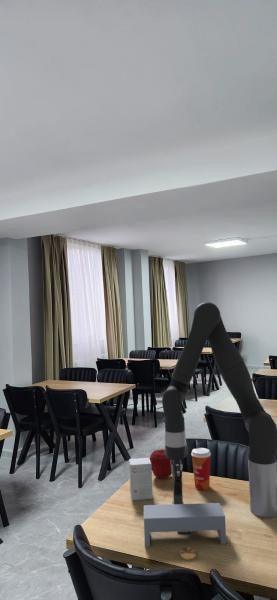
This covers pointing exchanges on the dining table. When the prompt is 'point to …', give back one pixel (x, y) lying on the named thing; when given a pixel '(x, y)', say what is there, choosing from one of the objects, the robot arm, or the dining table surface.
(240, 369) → the robot arm
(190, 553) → the token
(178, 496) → the grey l-shaped bracket
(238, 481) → the dining table surface
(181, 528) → the shelf
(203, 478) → the paper cup
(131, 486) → the small box
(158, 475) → the apple
